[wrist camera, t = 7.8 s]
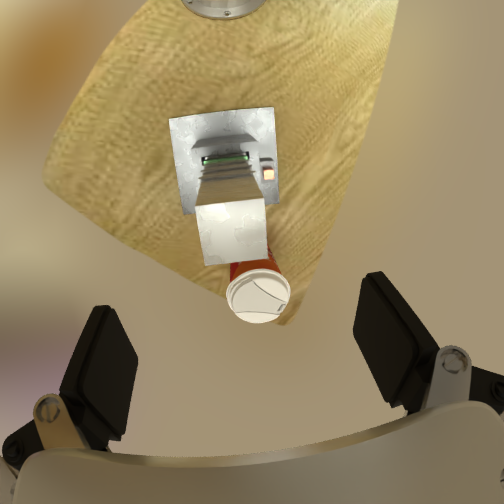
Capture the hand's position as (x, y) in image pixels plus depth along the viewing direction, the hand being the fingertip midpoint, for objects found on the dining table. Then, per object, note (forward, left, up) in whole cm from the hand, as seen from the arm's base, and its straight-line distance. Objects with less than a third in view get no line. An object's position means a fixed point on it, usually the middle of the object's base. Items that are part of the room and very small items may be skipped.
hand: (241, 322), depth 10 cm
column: (0, 0, -26) cm, 26 cm away
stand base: (0, 0, -32) cm, 32 cm away
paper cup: (+14, +2, -32) cm, 35 cm away
